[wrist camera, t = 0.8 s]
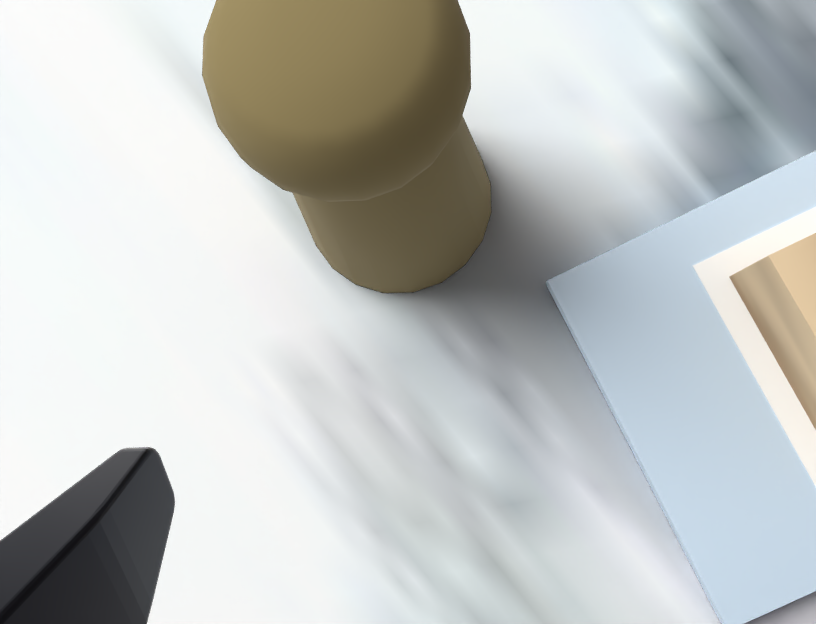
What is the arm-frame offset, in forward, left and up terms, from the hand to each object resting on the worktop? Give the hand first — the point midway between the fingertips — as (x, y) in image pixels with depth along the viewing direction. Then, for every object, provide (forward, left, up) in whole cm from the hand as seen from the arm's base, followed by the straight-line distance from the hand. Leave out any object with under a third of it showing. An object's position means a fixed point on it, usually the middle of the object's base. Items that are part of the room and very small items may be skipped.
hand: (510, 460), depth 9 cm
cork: (0, +8, -13) cm, 16 cm away
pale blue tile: (+9, -2, -13) cm, 16 cm away
